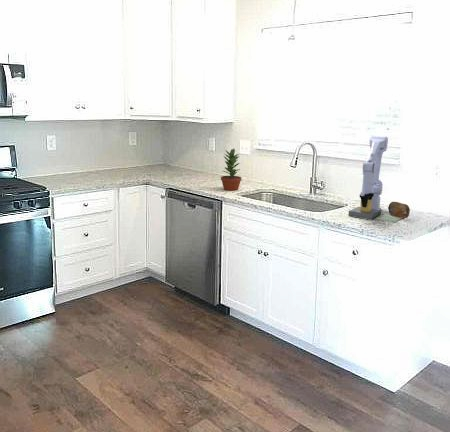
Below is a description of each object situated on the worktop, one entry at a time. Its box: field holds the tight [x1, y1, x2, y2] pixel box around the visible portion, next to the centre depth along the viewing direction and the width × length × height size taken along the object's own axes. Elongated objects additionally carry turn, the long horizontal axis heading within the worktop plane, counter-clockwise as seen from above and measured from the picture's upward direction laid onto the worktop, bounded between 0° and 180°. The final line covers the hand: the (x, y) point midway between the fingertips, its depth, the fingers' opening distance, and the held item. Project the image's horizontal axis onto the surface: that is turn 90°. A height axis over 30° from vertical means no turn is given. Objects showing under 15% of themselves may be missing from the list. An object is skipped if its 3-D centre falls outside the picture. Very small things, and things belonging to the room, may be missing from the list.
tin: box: [387, 201, 411, 220], centre depth 295 cm, size 15×3×8 cm, turn 24°
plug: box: [359, 200, 372, 212], centre depth 296 cm, size 4×5×8 cm
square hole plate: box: [348, 206, 382, 221], centre depth 297 cm, size 14×14×3 cm
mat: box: [375, 214, 402, 223], centre depth 290 cm, size 11×11×1 cm
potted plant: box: [220, 147, 242, 192], centre depth 362 cm, size 15×15×30 cm
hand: (365, 206), depth 296 cm, fingers closed on plug, 4 cm apart
